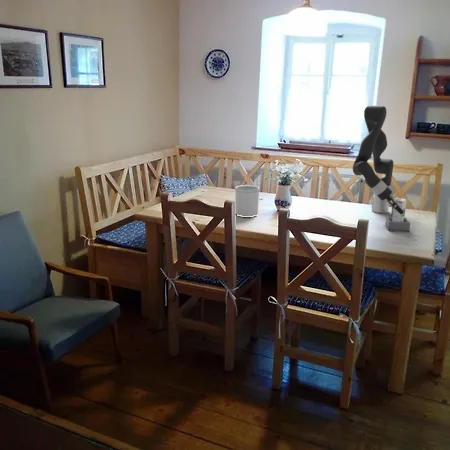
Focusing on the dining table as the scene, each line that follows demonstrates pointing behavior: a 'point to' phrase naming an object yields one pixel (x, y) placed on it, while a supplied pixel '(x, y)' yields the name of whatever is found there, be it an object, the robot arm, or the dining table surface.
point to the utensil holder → (247, 200)
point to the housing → (397, 225)
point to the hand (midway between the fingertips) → (401, 211)
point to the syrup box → (395, 214)
